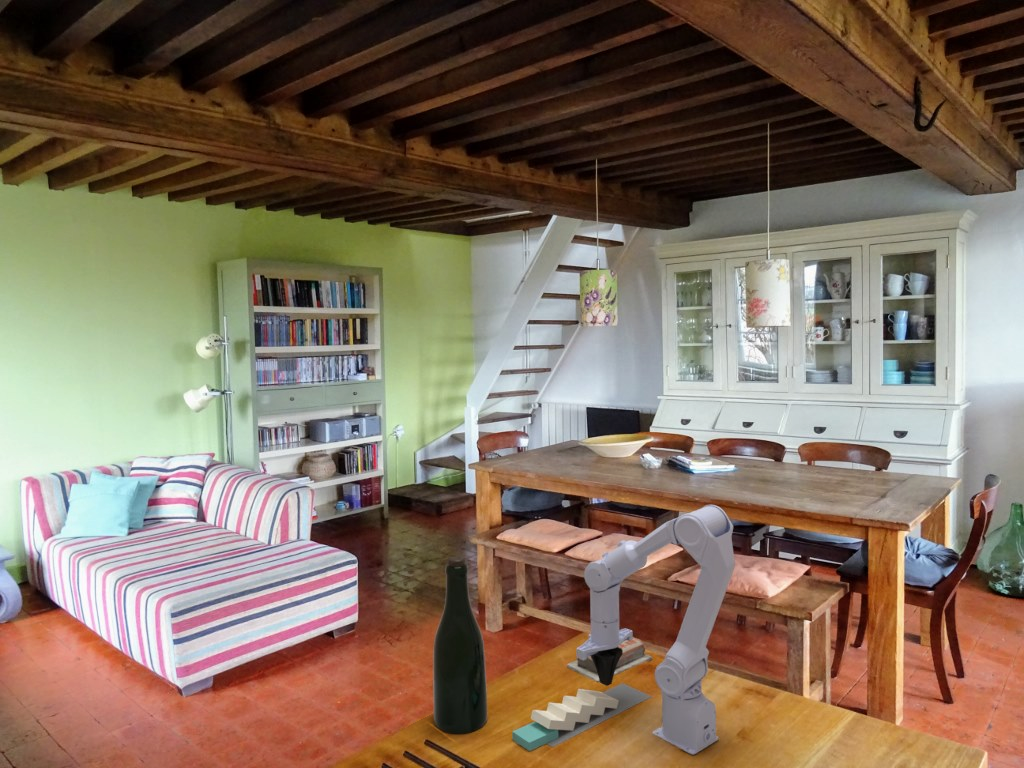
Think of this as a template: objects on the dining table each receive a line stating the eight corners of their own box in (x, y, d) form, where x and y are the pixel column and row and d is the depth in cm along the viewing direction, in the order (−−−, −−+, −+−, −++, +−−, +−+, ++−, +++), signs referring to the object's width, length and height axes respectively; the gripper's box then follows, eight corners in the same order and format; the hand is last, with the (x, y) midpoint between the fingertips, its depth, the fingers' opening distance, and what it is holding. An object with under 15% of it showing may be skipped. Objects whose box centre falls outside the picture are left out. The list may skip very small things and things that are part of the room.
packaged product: (620, 628, 179) (652, 641, 172) (620, 648, 180) (652, 661, 172) (566, 650, 168) (597, 664, 160) (566, 671, 168) (598, 686, 160)
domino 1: (540, 718, 143) (512, 731, 139) (558, 729, 139) (529, 742, 135) (541, 726, 143) (512, 739, 139) (558, 737, 139) (529, 751, 135)
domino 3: (572, 704, 148) (548, 702, 144) (590, 714, 144) (566, 712, 140) (570, 713, 148) (546, 710, 144) (588, 722, 144) (564, 720, 140)
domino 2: (557, 711, 145) (532, 709, 141) (575, 721, 142) (551, 720, 137) (554, 720, 145) (530, 718, 141) (573, 730, 141) (548, 729, 137)
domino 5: (600, 691, 153) (578, 688, 149) (618, 700, 150) (596, 697, 145) (598, 699, 153) (576, 696, 149) (616, 708, 149) (594, 705, 145)
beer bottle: (498, 722, 146) (494, 557, 143) (455, 743, 139) (450, 570, 136) (465, 703, 154) (461, 546, 151) (423, 721, 147) (418, 557, 144)
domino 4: (586, 698, 151) (563, 695, 146) (605, 707, 147) (582, 704, 143) (584, 706, 150) (561, 703, 146) (603, 715, 147) (579, 713, 142)
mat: (651, 698, 154) (651, 696, 154) (552, 749, 136) (552, 746, 136) (622, 684, 160) (622, 683, 160) (524, 731, 142) (524, 729, 142)
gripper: (614, 603, 157) (615, 665, 158) (565, 621, 148) (566, 687, 149) (640, 612, 152) (640, 677, 153) (590, 632, 143) (591, 700, 144)
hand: (605, 683), depth 151 cm, fingers closed
